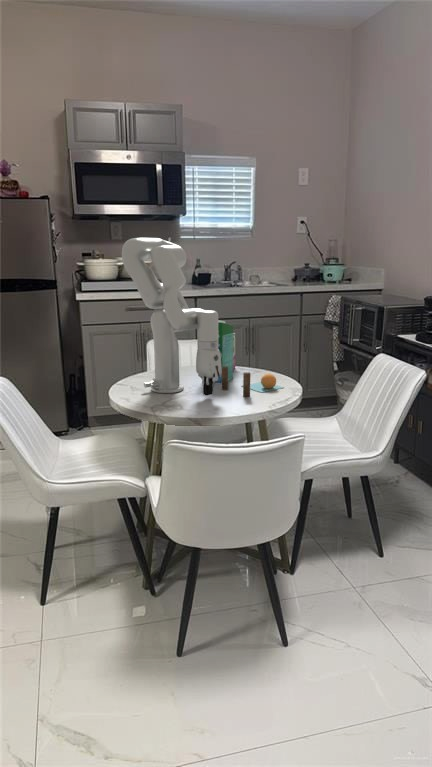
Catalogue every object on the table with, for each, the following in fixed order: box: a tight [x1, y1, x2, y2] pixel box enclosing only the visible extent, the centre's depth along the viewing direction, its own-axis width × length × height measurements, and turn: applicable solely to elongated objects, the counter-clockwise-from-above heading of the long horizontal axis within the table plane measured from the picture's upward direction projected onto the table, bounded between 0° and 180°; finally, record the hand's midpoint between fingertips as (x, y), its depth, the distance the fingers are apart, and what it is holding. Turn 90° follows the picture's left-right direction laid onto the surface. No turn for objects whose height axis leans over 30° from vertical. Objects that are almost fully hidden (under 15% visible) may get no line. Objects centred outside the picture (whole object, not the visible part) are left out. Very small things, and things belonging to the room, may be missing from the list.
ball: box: [260, 373, 277, 389], centre depth 207 cm, size 6×6×6 cm
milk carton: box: [214, 319, 234, 384], centre depth 219 cm, size 9×9×25 cm
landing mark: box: [241, 381, 285, 393], centre depth 210 cm, size 12×12×1 cm
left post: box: [221, 366, 229, 391], centre depth 205 cm, size 3×3×9 cm
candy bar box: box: [233, 332, 236, 371], centre depth 237 cm, size 11×5×16 cm, turn 168°
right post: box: [242, 371, 251, 398], centre depth 195 cm, size 3×3×9 cm
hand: (208, 394), depth 193 cm, fingers closed
